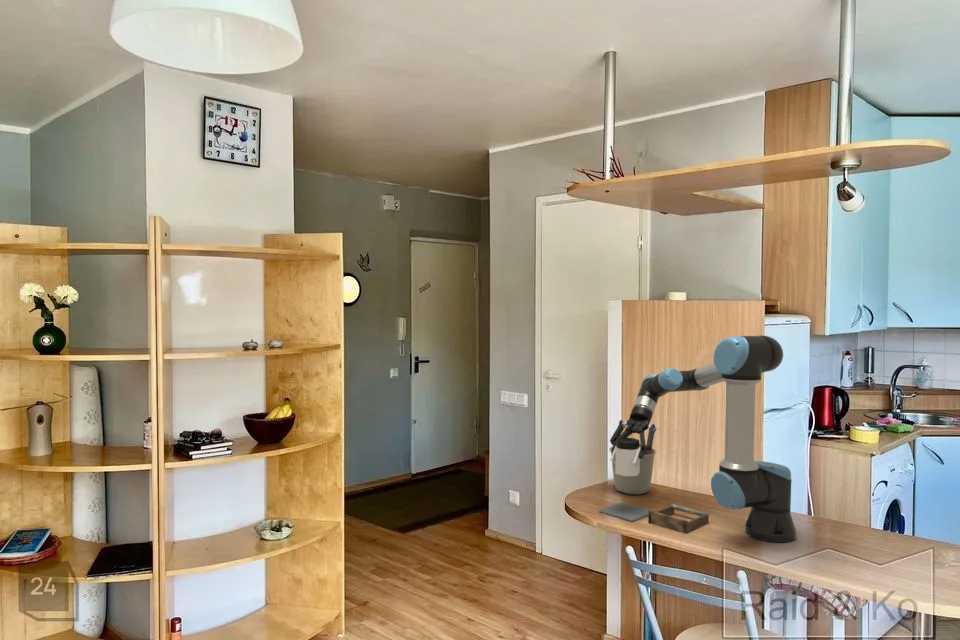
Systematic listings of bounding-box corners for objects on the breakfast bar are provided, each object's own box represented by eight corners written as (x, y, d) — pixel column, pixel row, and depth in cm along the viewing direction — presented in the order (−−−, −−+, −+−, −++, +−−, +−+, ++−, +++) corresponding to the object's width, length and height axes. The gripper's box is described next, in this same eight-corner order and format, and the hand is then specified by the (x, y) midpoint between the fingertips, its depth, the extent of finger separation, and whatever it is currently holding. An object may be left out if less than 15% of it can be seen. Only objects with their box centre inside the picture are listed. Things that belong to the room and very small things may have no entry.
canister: (638, 500, 250) (639, 445, 249) (599, 490, 263) (600, 437, 263) (664, 491, 262) (665, 438, 261) (626, 482, 275) (627, 431, 275)
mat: (655, 513, 236) (655, 511, 236) (632, 522, 226) (632, 520, 226) (622, 504, 246) (622, 502, 246) (599, 512, 236) (599, 510, 236)
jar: (619, 477, 231) (619, 442, 231) (611, 470, 239) (611, 437, 239) (643, 476, 232) (644, 442, 232) (635, 470, 240) (635, 437, 240)
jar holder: (709, 522, 226) (709, 511, 226) (685, 533, 215) (686, 521, 215) (672, 512, 236) (672, 501, 236) (648, 522, 226) (648, 511, 225)
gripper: (672, 420, 241) (654, 474, 229) (619, 414, 253) (600, 464, 241) (667, 408, 237) (648, 461, 224) (614, 402, 249) (593, 452, 237)
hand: (623, 463), depth 233 cm, fingers closed on jar, 8 cm apart
